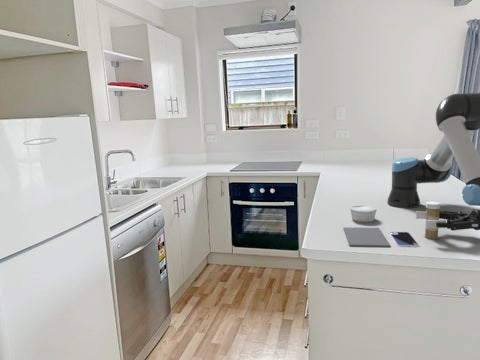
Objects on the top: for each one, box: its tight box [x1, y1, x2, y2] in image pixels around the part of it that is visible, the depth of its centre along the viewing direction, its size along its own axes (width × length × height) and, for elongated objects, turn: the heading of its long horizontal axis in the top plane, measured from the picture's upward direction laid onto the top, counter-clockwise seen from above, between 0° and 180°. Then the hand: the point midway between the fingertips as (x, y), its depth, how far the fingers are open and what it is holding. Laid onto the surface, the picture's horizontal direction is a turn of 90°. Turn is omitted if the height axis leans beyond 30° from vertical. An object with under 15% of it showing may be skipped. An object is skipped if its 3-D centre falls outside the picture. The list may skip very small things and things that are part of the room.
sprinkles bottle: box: [424, 201, 441, 240], centre depth 132 cm, size 5×5×13 cm
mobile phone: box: [388, 231, 420, 248], centre depth 133 cm, size 8×1×15 cm
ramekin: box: [349, 204, 377, 223], centre depth 159 cm, size 11×11×5 cm
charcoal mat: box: [343, 226, 392, 248], centre depth 137 cm, size 20×14×1 cm
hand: (420, 219), depth 133 cm, fingers open, 11 cm apart
